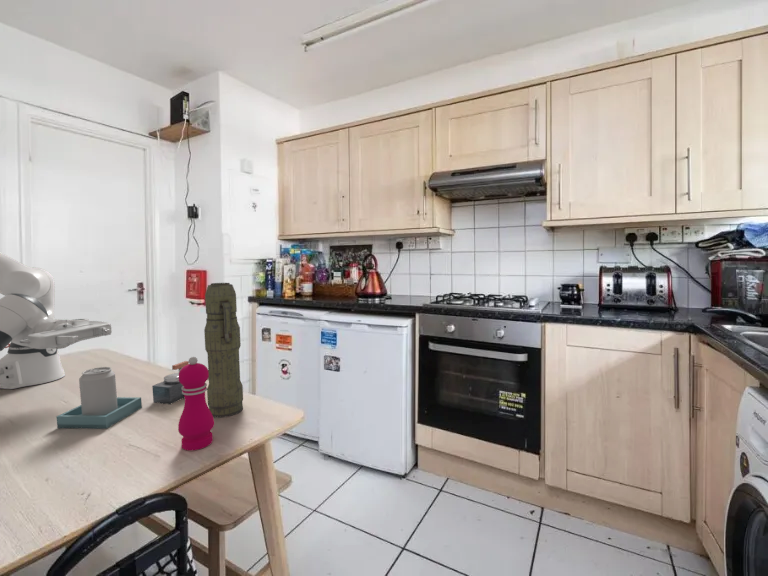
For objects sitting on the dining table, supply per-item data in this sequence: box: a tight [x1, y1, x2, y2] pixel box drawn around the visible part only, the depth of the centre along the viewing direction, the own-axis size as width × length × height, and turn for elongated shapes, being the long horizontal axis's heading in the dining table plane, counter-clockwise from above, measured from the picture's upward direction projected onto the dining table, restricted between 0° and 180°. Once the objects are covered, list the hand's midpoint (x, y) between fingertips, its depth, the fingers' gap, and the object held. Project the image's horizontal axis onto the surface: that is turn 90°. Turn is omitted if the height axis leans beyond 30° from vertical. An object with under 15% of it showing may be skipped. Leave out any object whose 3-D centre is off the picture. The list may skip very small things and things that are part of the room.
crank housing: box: [151, 360, 189, 405], centre depth 112 cm, size 7×12×10 cm, turn 165°
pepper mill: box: [177, 356, 215, 452], centre depth 83 cm, size 7×7×20 cm
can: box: [78, 366, 118, 415], centre depth 97 cm, size 8×8×12 cm
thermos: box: [203, 282, 244, 418], centre depth 100 cm, size 9×12×35 cm
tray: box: [56, 396, 143, 430], centre depth 98 cm, size 13×13×3 cm
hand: (93, 335), depth 108 cm, fingers open, 8 cm apart
